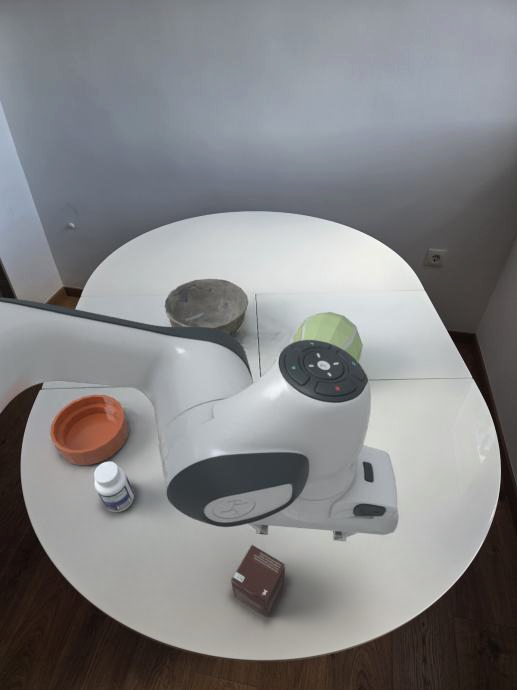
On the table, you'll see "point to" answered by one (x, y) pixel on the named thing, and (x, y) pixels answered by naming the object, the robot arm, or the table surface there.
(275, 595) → the box
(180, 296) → the bowl
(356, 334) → the green ball
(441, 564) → the table surface
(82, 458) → the clay bowl
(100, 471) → the pill bottle
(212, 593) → the table surface
